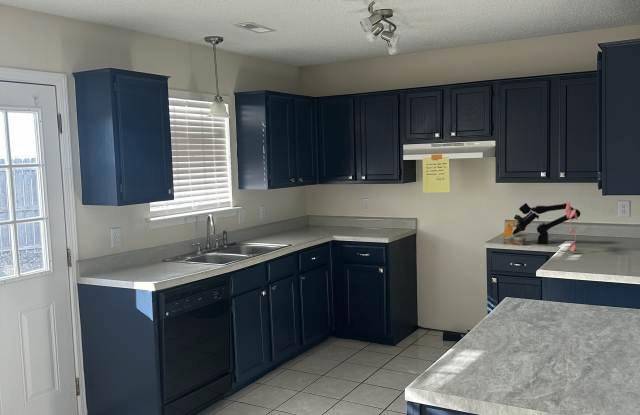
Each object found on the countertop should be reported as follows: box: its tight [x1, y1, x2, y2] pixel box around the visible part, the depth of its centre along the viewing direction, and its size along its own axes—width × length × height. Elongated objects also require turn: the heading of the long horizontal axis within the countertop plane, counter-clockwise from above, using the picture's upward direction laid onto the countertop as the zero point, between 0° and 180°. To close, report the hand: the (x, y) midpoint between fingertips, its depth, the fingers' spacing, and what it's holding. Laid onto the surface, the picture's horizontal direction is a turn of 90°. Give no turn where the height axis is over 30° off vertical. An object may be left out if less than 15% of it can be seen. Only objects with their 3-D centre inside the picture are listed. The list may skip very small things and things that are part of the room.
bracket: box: [502, 220, 516, 237], centre depth 481 cm, size 11×7×12 cm, turn 64°
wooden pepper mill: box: [512, 224, 519, 237], centre depth 452 cm, size 4×4×13 cm
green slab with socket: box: [502, 236, 527, 246], centre depth 449 cm, size 15×12×5 cm
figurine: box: [564, 200, 579, 252], centre depth 410 cm, size 15×26×35 cm, turn 166°
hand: (512, 233), depth 452 cm, fingers open, 4 cm apart
